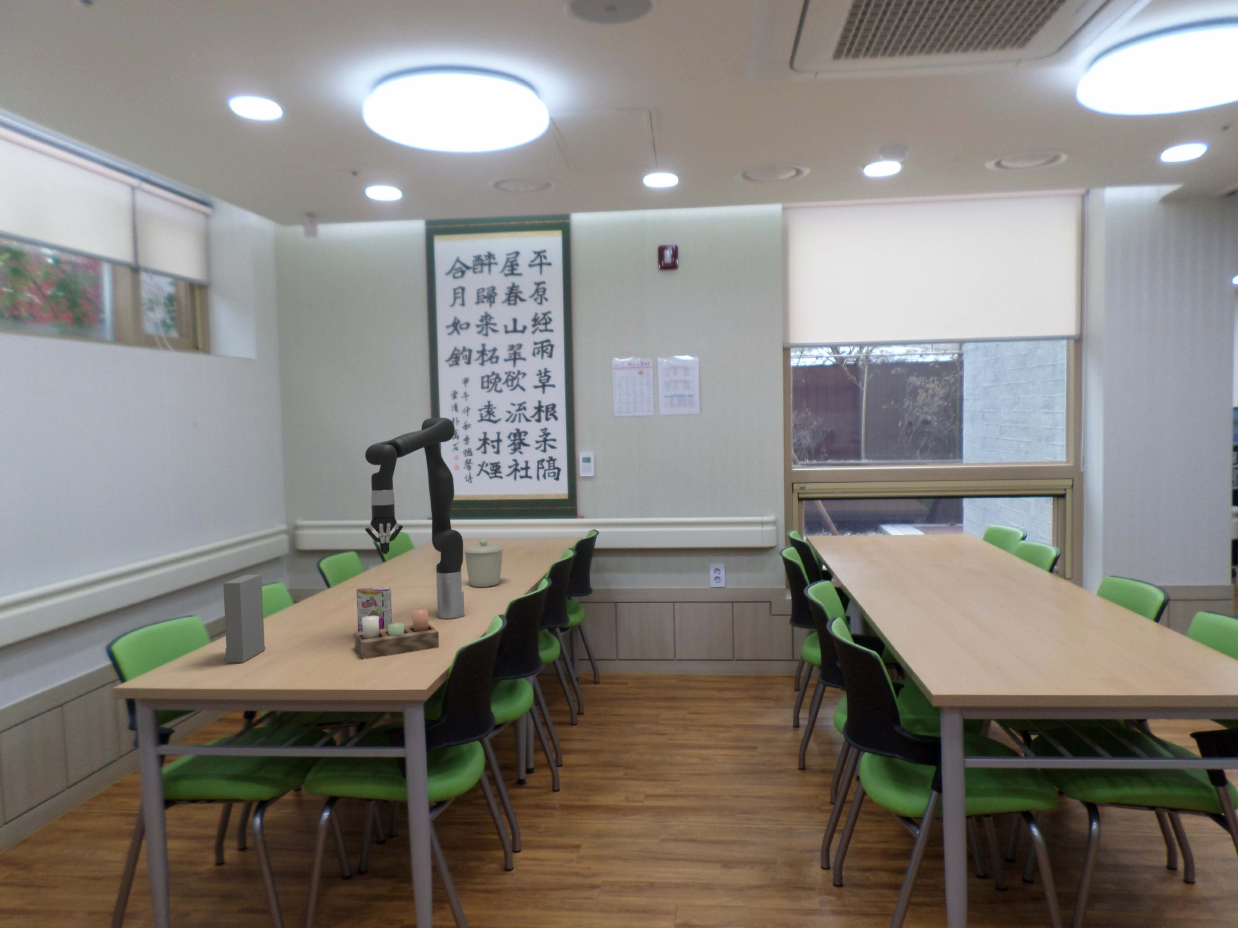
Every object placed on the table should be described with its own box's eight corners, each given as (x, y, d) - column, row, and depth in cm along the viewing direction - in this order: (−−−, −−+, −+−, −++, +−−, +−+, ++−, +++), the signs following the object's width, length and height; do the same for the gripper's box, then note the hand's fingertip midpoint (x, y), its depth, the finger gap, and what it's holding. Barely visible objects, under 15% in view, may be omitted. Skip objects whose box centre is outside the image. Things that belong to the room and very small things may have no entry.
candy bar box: (357, 635, 269) (355, 588, 268) (366, 632, 274) (364, 586, 273) (384, 637, 265) (382, 590, 264) (393, 634, 270) (391, 587, 269)
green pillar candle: (402, 643, 257) (402, 621, 256) (406, 646, 252) (405, 625, 252) (387, 645, 254) (386, 624, 254) (390, 649, 250) (389, 627, 249)
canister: (458, 589, 344) (456, 542, 343) (472, 580, 362) (471, 536, 361) (497, 589, 341) (496, 542, 340) (509, 581, 359) (508, 536, 358)
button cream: (377, 636, 253) (376, 614, 252) (380, 640, 248) (379, 617, 248) (361, 638, 250) (360, 616, 250) (364, 642, 246) (363, 620, 245)
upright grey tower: (246, 650, 253) (243, 574, 252) (265, 650, 253) (262, 574, 252) (224, 663, 240) (220, 583, 238) (243, 663, 239) (239, 583, 238)
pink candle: (426, 629, 260) (425, 608, 260) (430, 632, 256) (429, 611, 255) (411, 631, 258) (410, 610, 257) (415, 635, 253) (414, 613, 253)
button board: (427, 637, 265) (427, 622, 265) (438, 646, 253) (438, 631, 252) (354, 647, 254) (354, 632, 253) (362, 658, 241) (362, 642, 241)
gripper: (400, 501, 270) (401, 550, 271) (360, 503, 263) (362, 554, 264) (405, 502, 263) (406, 553, 264) (364, 505, 257) (366, 557, 258)
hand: (384, 553), depth 264 cm, fingers closed
